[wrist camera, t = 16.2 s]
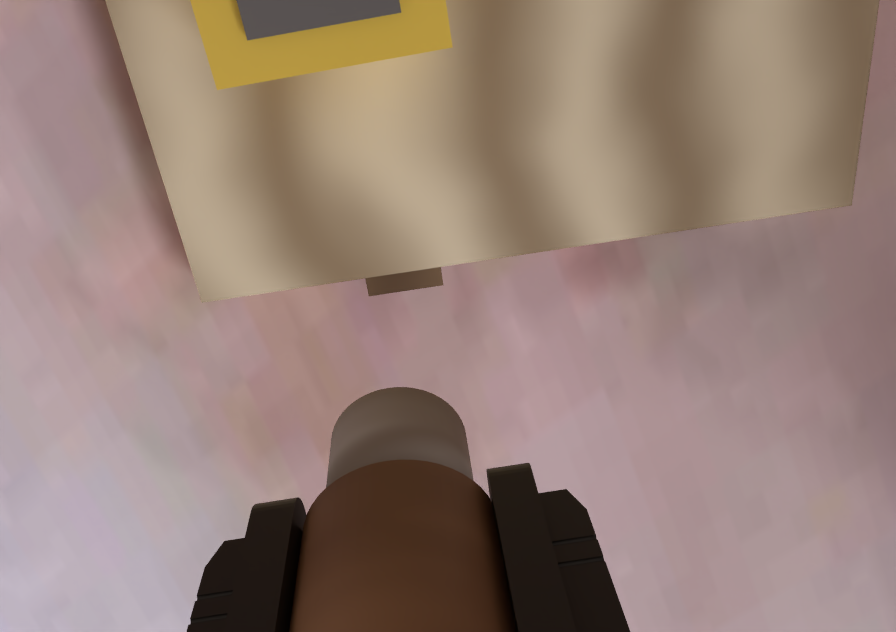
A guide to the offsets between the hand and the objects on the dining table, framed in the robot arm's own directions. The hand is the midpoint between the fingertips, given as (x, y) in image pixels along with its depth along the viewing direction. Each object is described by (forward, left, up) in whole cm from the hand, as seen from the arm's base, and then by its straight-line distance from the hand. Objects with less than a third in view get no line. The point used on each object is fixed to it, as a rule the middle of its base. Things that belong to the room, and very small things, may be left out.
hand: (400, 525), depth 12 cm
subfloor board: (-5, -6, -19) cm, 21 cm away
